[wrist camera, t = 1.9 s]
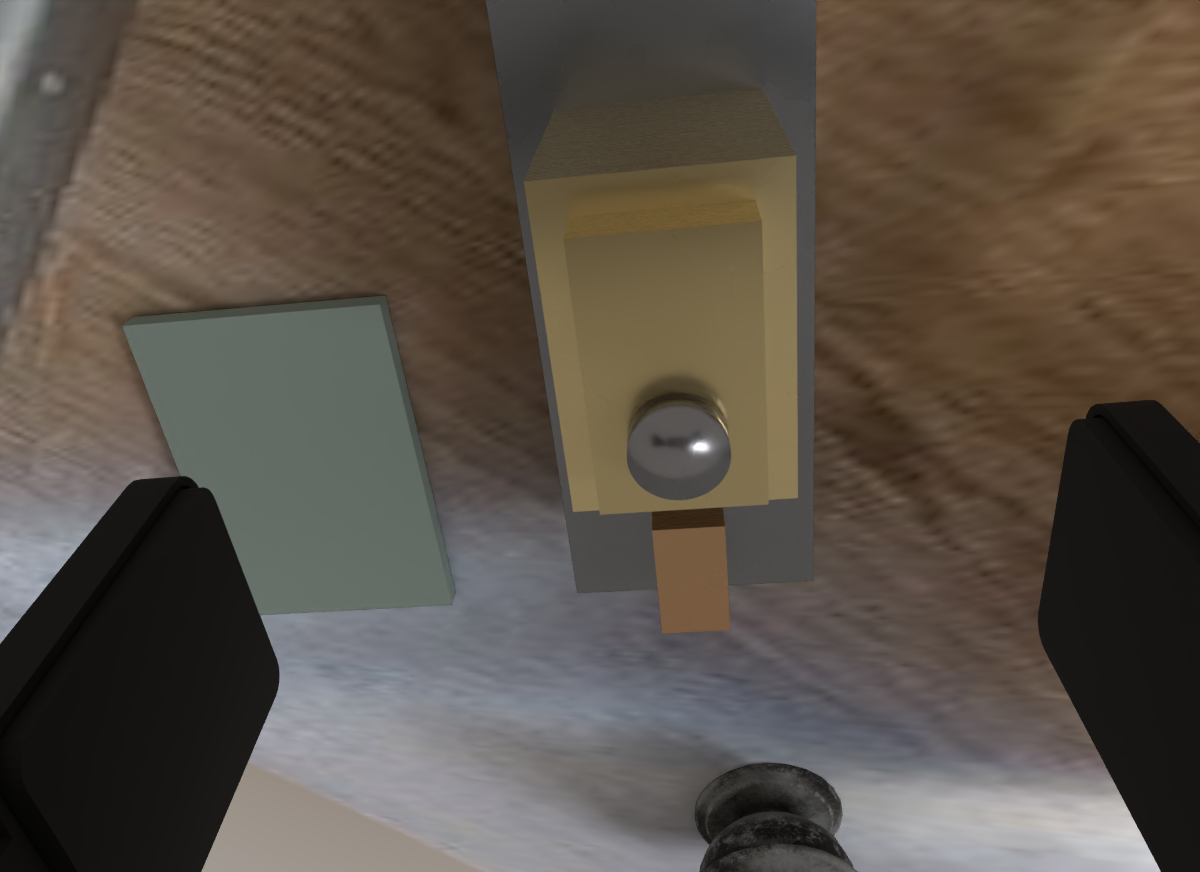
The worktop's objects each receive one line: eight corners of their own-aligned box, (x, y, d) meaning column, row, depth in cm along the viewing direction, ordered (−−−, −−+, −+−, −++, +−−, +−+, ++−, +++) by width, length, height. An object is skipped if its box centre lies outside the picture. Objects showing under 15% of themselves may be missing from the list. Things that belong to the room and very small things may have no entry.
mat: (385, 295, 25) (380, 304, 24) (455, 592, 30) (452, 605, 29) (132, 316, 26) (121, 326, 25) (242, 603, 31) (235, 616, 30)
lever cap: (762, 88, 18) (811, 186, 12) (768, 370, 21) (810, 553, 15) (554, 109, 18) (509, 214, 13) (589, 384, 21) (566, 567, 16)
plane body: (787, -280, 18) (844, -348, 13) (793, 491, 27) (829, 650, 22) (483, -238, 19) (411, -285, 13) (586, 505, 28) (569, 662, 22)
